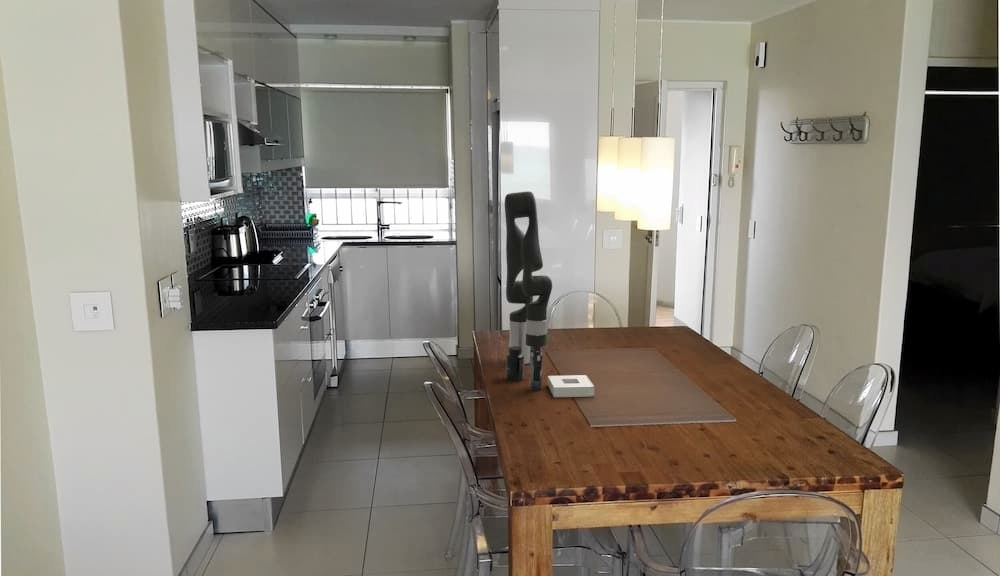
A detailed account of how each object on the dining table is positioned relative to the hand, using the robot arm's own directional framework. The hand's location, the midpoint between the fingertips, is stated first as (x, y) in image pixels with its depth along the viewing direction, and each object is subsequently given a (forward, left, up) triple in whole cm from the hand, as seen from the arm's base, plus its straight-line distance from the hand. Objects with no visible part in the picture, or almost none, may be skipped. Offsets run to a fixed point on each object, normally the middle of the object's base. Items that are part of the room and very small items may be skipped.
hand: (535, 378), depth 259 cm
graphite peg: (0, 0, -4) cm, 4 cm away
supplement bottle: (-13, -6, -4) cm, 15 cm away
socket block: (+3, +12, -4) cm, 13 cm away
